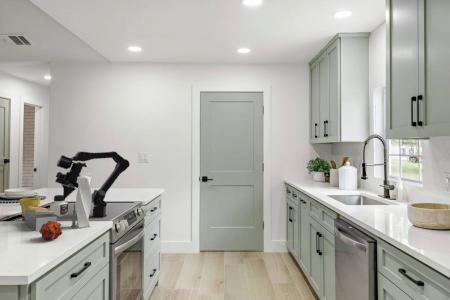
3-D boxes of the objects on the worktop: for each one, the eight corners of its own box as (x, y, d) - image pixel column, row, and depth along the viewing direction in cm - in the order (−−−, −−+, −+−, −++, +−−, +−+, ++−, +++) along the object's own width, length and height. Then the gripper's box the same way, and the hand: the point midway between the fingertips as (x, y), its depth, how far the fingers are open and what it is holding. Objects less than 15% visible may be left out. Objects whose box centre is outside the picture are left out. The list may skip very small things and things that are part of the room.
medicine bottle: (60, 216, 194) (60, 196, 194) (49, 215, 196) (50, 195, 196) (68, 214, 201) (68, 194, 201) (57, 213, 203) (58, 194, 203)
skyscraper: (87, 224, 176) (89, 172, 176) (93, 227, 170) (95, 173, 170) (71, 226, 170) (73, 172, 170) (77, 229, 164) (79, 173, 165)
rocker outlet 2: (51, 213, 169) (52, 211, 169) (54, 214, 166) (54, 212, 166) (34, 212, 164) (34, 209, 164) (36, 213, 161) (37, 211, 161)
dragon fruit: (53, 238, 152) (52, 249, 141) (36, 229, 148) (33, 239, 137) (65, 223, 153) (65, 233, 142) (49, 214, 149) (47, 223, 139)
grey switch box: (45, 220, 181) (46, 209, 181) (57, 228, 165) (58, 215, 165) (24, 223, 174) (24, 210, 174) (34, 231, 158) (35, 217, 158)
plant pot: (43, 214, 198) (44, 198, 198) (31, 217, 188) (32, 200, 188) (27, 213, 199) (28, 197, 199) (14, 217, 189) (15, 200, 189)
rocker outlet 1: (44, 209, 179) (44, 207, 179) (46, 211, 176) (47, 209, 176) (28, 207, 173) (28, 205, 174) (30, 209, 170) (30, 207, 170)
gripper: (72, 171, 199) (62, 196, 196) (52, 165, 182) (41, 192, 178) (88, 176, 197) (78, 201, 194) (70, 170, 179) (58, 197, 176)
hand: (64, 198), depth 186 cm, fingers closed
